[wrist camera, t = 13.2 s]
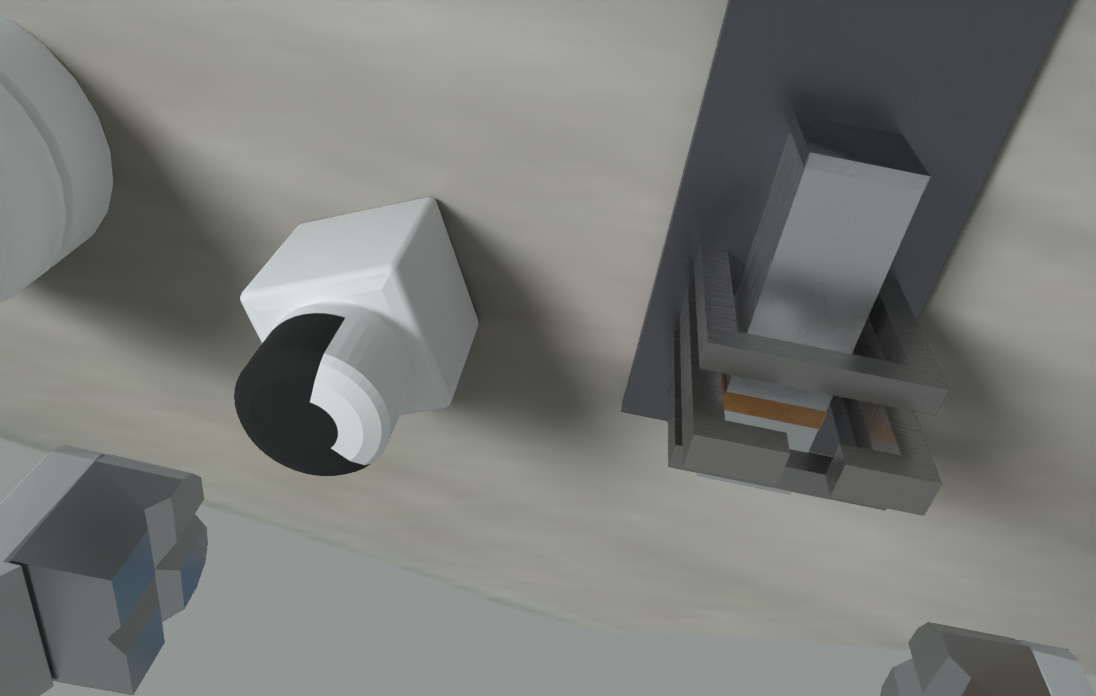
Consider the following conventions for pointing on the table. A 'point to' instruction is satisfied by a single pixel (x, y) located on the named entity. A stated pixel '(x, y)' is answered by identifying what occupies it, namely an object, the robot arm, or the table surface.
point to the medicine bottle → (353, 336)
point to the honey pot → (45, 161)
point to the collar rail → (738, 202)
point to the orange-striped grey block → (820, 260)
